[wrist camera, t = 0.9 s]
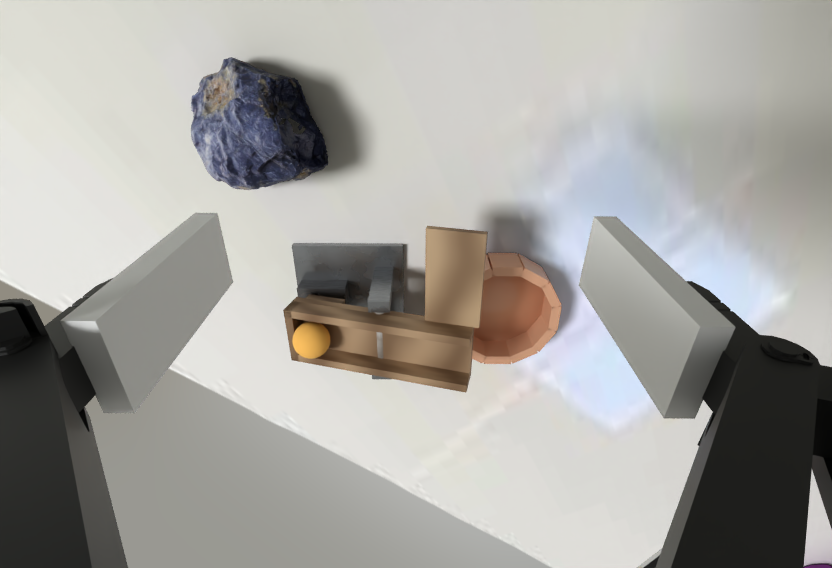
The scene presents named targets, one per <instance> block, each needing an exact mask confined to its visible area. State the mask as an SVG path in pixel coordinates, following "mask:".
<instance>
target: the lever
mask: <svg viewBox="0 0 832 568" xmlns="http://www.w3.org/2000/svg"><path fill="white" fill-rule="evenodd" d="M487 234H488V232H484V231H474V230H464V229H454V228H444V227H434V226H427V228H426V268H425V316H422V315H415V314H409V313H402V312H395V311H390V313H377V312H368V307H361V306H355V305H348V304H345V299H338V298H331V297H324V296H318V295H311V294H309V295H308V296H307V297H306V298H301V297H296V298H295V299H294V300H293V301H292V302H291V303H290V304H289V305H288V306H287V307H286V308H285V309H284V310H283V311H284V317H285V323H286V329H287V334H288V340H289V346H290V352H291V358H292V360H294V361H300V362H305V363H310V364H316V365H321V366H327V367H332V368H337V369H343V370H348V371H353V372H359V373H364V374H370V375H375V376H380V377H386V378H391V379H396V380H402V381H407V382H413V383H418V384H423V385H429V386H434V387H439V388H445V389H450V390H456V391H461V392H466V391H467V388H468V384H469V380H470V376H471V365H472V351H473V338H474V328H479V326H480V318H481V306H482V294H483V282H484V270H485V258H486V246H487ZM306 322H318V323H320V324H322V325H324V326H325V327H326V328H327V330H328V332H329V334H330V345H329V348H328V349H327V351H326V352H325V353H324V354H323V355H321V356H320V357H317V358H313V359H308V358H304V357H302V356H300V355H299V354H298V353H297V352H296V351H295V349H294V347H293V342H292V340H293V335H294V332H295V330H296V329H297V328H298V327H299V326H300V325H302V324H303V323H306Z"/></svg>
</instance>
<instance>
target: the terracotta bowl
mask: <svg viewBox="0 0 832 568" xmlns="http://www.w3.org/2000/svg"><path fill="white" fill-rule="evenodd" d="M561 308H562V306H561V303H560V301H559V299H558V297H557V295H556V293H555V291H554V289H553V287H552V285H551V283H550V281H549V279H548V277H547V275H546V274H545V272H544V270H543V268H542V267H541V266H540V265H538V264H536V263H534V262H533V261H531V260H529V259H527V258H526V257H524V256H522V255H520V254H519V253H518V254H517V253H488V254H486V258H485V270H484V282H483V294H482V306H481V318H480V326H479V328H474V338H473V351H472V359H474V360H476V361H478V362H480V363H483V362H484V364H511V362H512V363H515V362H517V361H520V360H522V359H524V358H527V357H529V356H531V355H534V354H536V353H538V352H537V351H540V350H541V349H542V348H543V347H544V346H545V345H546V343H547V342H548V341H549V340H550V339H551V338H552V337H553V336H554V334H555V333H556V331H557V329H558V324H559V319H560V313H561Z"/></svg>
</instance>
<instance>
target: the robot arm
mask: <svg viewBox="0 0 832 568" xmlns="http://www.w3.org/2000/svg"><path fill="white" fill-rule="evenodd" d="M232 283H233V280H232V275H231V271H230V267H229V262H228V258H227V253H226V249H225V245H224V240H223V236H222V231H221V227H220V223H219V218H218V214H217V213H195V214H193V215H192V216H191V217H190V218H188V219H187V220H186V221H185V222H183V223H182V224H181V225H180V226H178V227H177V228H176V229H175V230H173V231H172V232H171V233H170V234H168V235H167V236H166V237H165V238H163V239H162V240H161V241H160V242H158V243H157V244H156V245H155V246H153V247H152V248H151V249H150V250H148V251H147V252H146V253H145V254H143V255H142V256H141V257H140V258H138V259H137V260H136V261H135V262H133V263H132V264H131V265H130V266H128V267H127V268H126V269H125V270H123V271H122V272H121V273H120V274H118V275H117V276H116V277H114V278H112V279H110V280H108V281H106V282H104V283H102V284H99V285H97V286H95V287H94V288H93V289H92V290H90V291H89V292H88V293H86V294H85V295H84V296H83V298H80V299H79V300H78V301H76V302H75V303H74V304H72V307H69V308H67V309H66V310H65V311H63V312H62V313H61V314H60V315H58V316H57V317H56V318H54V319H53V320H52V321H51V322H49V323H48V324H47V325H46V326H44V325H43V323H42V321H41V319H40V317H39V315H38V313H37V311H36V309H35V307H34V305H33V304H32V302H31V301H30V300H24V299H8V300H3V301H0V568H128V566H127V562H126V558H125V554H124V550H123V546H122V542H121V538H120V535H119V530H118V527H117V522H116V519H115V515H114V511H113V507H112V503H111V499H110V495H109V491H108V487H107V483H106V479H105V475H104V471H103V467H102V463H101V459H100V455H99V451H98V447H97V444H96V440H95V436H94V432H93V428H92V424H91V420H90V417H89V415H88V413H87V411H86V409H85V406H86V405H87V403H88V402H89V401H90V400H91V399H92V398H93V397H94V396H95V395H96V398H97V400H98V402H99V404H100V406H101V408H102V410H103V412H104V413H135V412H136V411H137V409H138V408H139V407H140V405H141V404H142V403H143V401H144V400H145V399H146V397H147V396H148V394H149V393H150V392H151V391H152V389H153V388H154V387H155V385H156V384H157V383H158V381H159V380H160V379H161V377H162V376H163V375H164V373H165V372H166V370H167V369H168V368H169V367H170V365H171V364H172V363H173V361H174V360H175V359H176V357H177V356H178V355H179V353H180V352H181V351H182V349H183V348H184V347H185V345H186V344H187V343H188V341H189V340H190V339H191V337H192V336H193V335H194V333H195V332H196V331H197V329H198V328H199V327H200V325H201V324H202V323H203V321H204V320H205V319H206V317H207V316H208V315H209V313H210V312H211V311H212V309H213V308H214V307H215V305H216V304H217V303H218V301H219V300H220V299H221V297H222V296H223V295H224V293H225V292H226V291H227V289H228V288H229V287H230V285H231V284H232ZM579 286H580V288H581V289H582V291H583V292H584V294H585V295H586V297H587V299H588V300H589V302H590V303H591V305H592V306H593V308H594V310H595V311H596V313H597V314H598V316H599V317H600V319H601V321H602V322H603V324H604V325H605V327H606V328H607V330H608V332H609V333H610V335H611V336H612V338H613V339H614V341H615V342H616V344H617V346H618V347H619V349H620V350H621V352H622V353H623V355H624V357H625V358H626V360H627V361H628V363H629V364H630V366H631V368H632V369H633V371H634V372H635V374H636V375H637V377H638V379H639V380H640V382H641V383H642V385H643V386H644V388H645V389H646V391H647V393H648V394H649V396H650V397H651V399H652V400H653V402H654V404H655V405H656V407H657V408H658V410H659V411H660V413H661V415H662V416H663V418H695V417H696V415H697V412H698V410H699V408H700V406H701V403H702V401H703V400H704V401H705V402H706V404H707V405H708V406H709V408H710V409H711V410H712V411H713V413H712V415H711V417H710V419H709V421H708V424H707V426H706V428H705V430H704V432H703V434H702V436H701V438H700V441H699V443H698V445H699V449H698V451H697V454H696V457H695V460H694V462H693V465H692V468H691V471H690V473H689V476H688V479H687V482H686V484H685V487H684V490H683V493H682V496H681V498H680V501H679V504H678V507H677V509H676V512H675V515H674V518H673V520H672V523H671V526H670V529H669V531H668V534H667V537H666V540H665V542H664V545H663V548H662V551H661V553H660V556H659V559H658V562H657V565H656V567H655V568H803V566H804V554H805V542H806V530H807V518H808V506H809V493H810V481H811V469H812V470H813V473H814V476H815V479H816V482H817V485H818V489H819V492H820V495H821V498H822V501H823V504H824V507H825V510H826V513H827V516H828V519H829V522H830V525H831V528H832V367H827V366H822V365H820V364H819V361H818V359H817V358H816V357H815V356H814V355H813V354H812V353H811V352H810V351H808V350H806V349H805V348H803V347H801V346H800V345H798V344H795V343H793V342H790V341H788V340H785V339H782V338H778V337H774V336H766V335H759V334H758V333H757V332H756V331H754V330H753V329H752V328H751V327H750V326H749V325H748V324H746V323H745V322H744V321H743V320H742V319H741V318H740V317H739V316H737V315H736V314H735V313H734V312H733V311H730V309H729V308H728V307H727V306H726V305H725V304H724V303H721V301H720V300H719V299H718V298H717V297H716V296H715V295H714V294H712V293H711V292H710V291H709V290H707V289H705V288H703V287H701V286H700V285H698V284H696V283H694V282H692V281H685V280H684V279H683V278H682V277H681V276H680V275H679V274H678V273H676V272H675V271H674V270H673V269H672V268H671V267H670V266H669V265H668V264H667V263H666V262H665V261H663V260H662V259H661V258H660V257H659V256H658V255H657V254H656V253H655V252H654V251H653V250H652V249H650V248H649V247H648V246H647V245H646V244H645V243H644V242H643V241H642V240H641V239H640V238H639V237H638V236H636V235H635V234H634V233H633V232H632V231H631V230H630V229H629V228H628V227H627V226H626V225H625V224H623V223H622V222H621V221H620V220H619V219H618V218H617V217H598V216H594V219H593V223H592V228H591V232H590V237H589V242H588V246H587V251H586V255H585V260H584V264H583V269H582V273H581V278H580V283H579Z"/></svg>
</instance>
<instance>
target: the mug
mask: <svg viewBox="0 0 832 568" xmlns="http://www.w3.org/2000/svg"><path fill="white" fill-rule="evenodd" d="M803 568H832V566H830V565H826V564H818V565H809V566H805V567H803Z"/></svg>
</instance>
